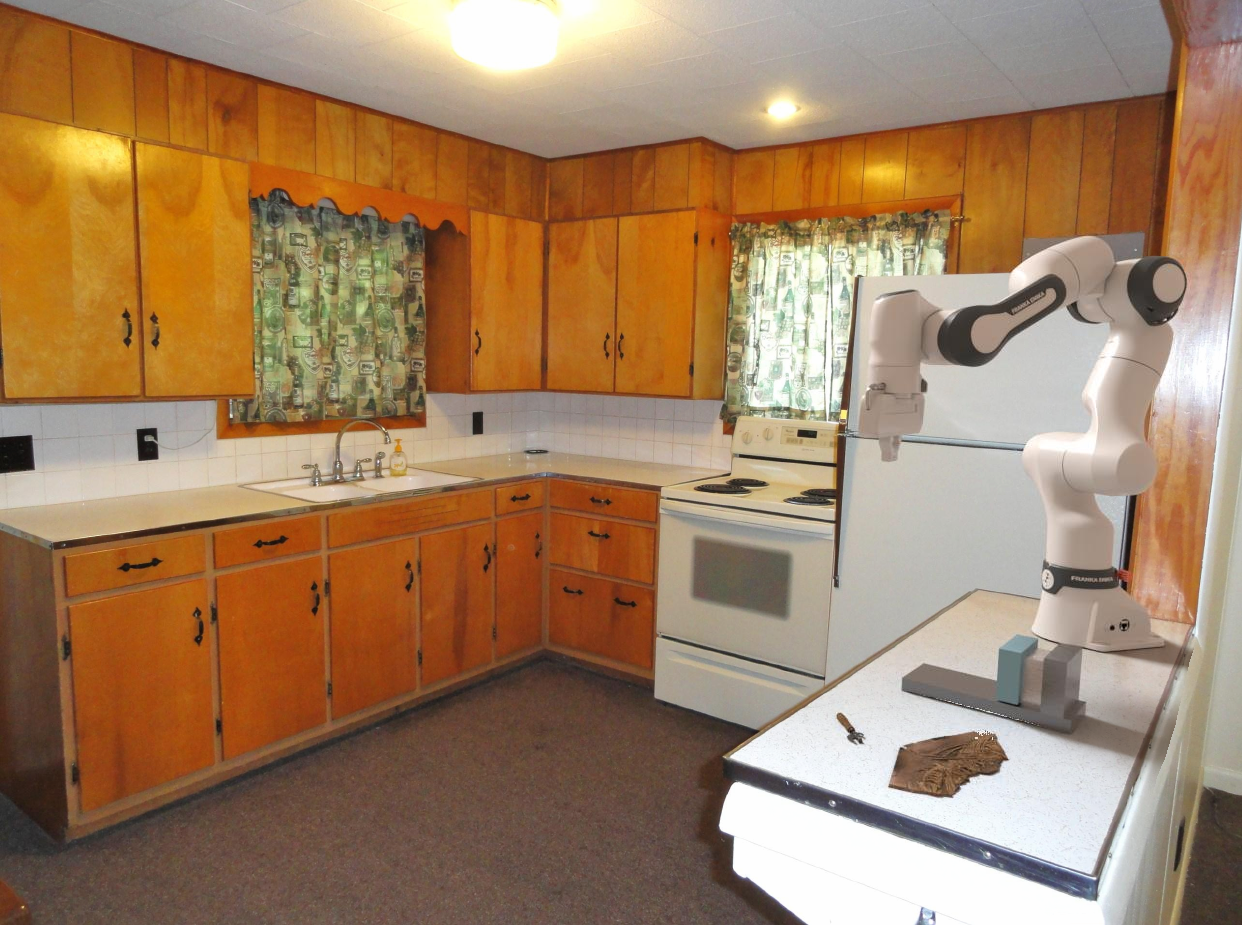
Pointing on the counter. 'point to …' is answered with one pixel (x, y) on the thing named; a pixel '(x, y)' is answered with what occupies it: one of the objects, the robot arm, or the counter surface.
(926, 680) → the vise bed
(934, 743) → the wooden fragment
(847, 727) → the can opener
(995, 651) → the counter surface
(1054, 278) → the robot arm
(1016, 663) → the slide jaw
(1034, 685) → the steel block
